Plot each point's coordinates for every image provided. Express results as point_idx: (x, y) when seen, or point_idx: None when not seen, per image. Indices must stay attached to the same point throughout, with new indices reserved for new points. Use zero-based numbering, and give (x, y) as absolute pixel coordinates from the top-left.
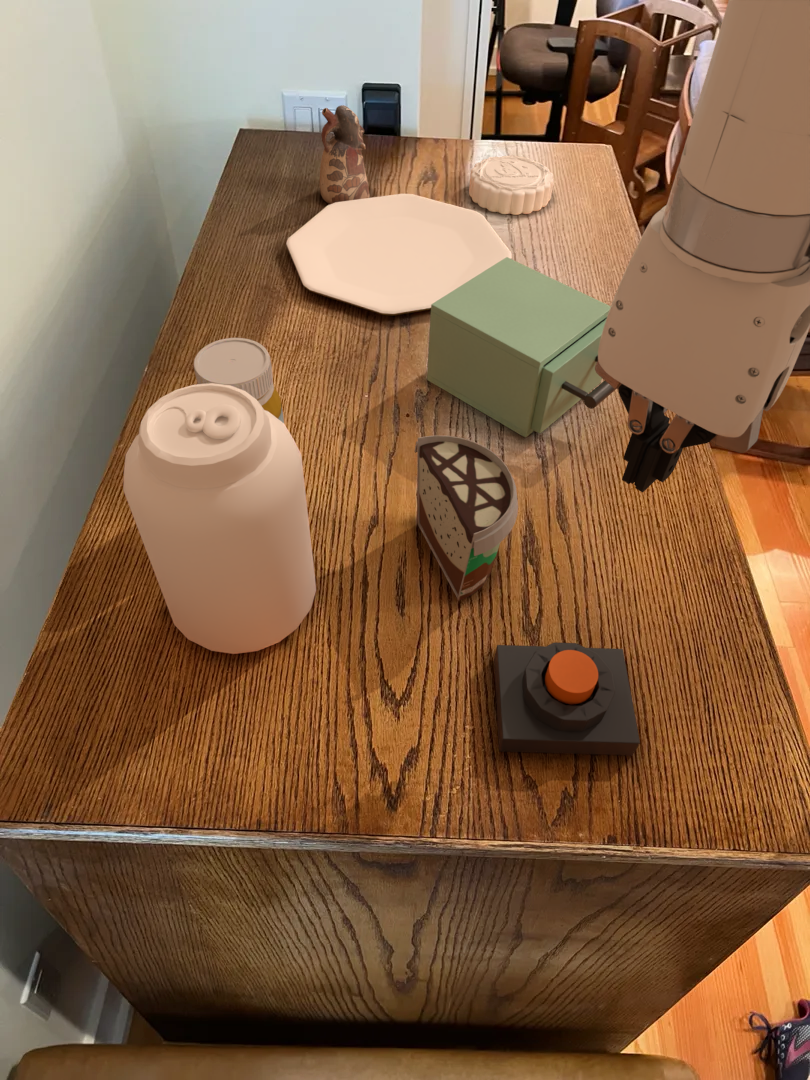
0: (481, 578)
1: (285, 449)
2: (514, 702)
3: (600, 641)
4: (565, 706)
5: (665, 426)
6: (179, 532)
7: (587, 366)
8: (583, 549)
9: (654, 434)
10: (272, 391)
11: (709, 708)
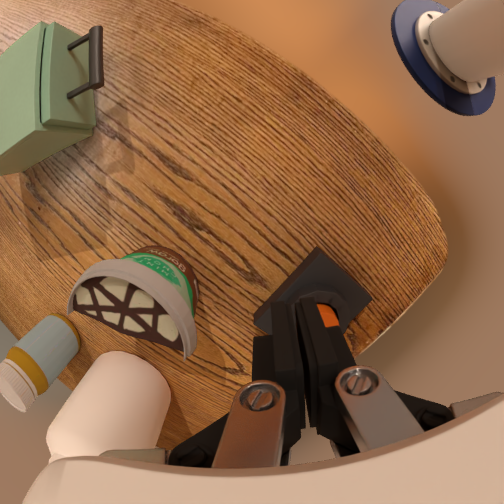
0: (195, 290)
1: None
2: None
3: (295, 240)
4: None
5: (302, 385)
6: None
7: (69, 61)
8: (216, 178)
9: (300, 411)
10: (21, 370)
11: (383, 220)
